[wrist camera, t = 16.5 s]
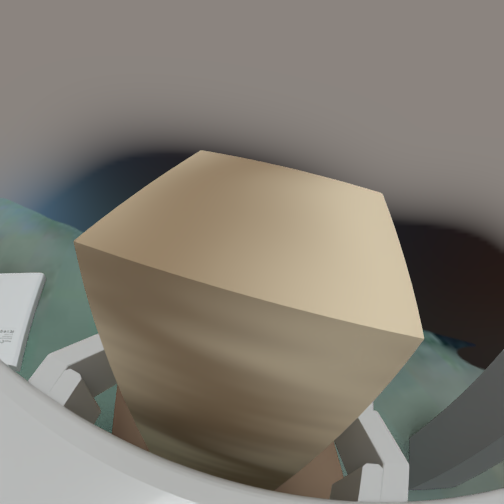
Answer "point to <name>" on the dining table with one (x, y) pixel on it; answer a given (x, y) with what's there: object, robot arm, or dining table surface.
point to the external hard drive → (17, 313)
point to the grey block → (461, 435)
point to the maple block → (248, 312)
